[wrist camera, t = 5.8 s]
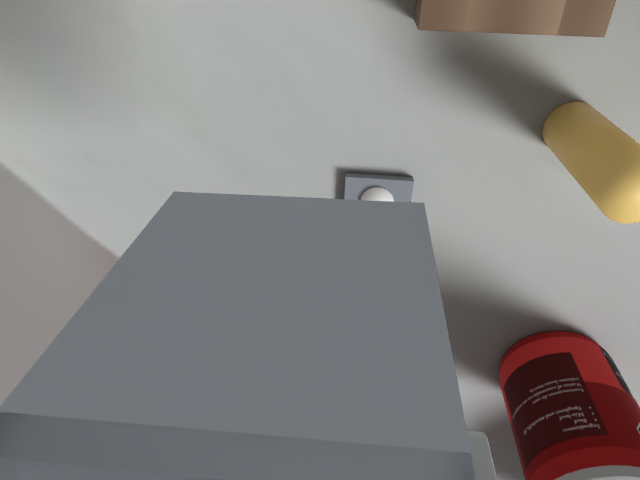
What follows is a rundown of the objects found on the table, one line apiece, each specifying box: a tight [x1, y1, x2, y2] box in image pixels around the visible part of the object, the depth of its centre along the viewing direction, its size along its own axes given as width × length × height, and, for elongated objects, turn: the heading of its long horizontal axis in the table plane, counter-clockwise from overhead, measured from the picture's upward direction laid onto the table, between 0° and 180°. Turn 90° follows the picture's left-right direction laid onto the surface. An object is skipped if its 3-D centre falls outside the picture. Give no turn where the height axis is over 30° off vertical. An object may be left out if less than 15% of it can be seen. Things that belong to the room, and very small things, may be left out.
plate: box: [344, 173, 414, 202], centre depth 29 cm, size 4×7×4 cm, turn 179°
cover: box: [0, 192, 476, 480], centre depth 10 cm, size 6×9×8 cm, turn 0°
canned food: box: [499, 331, 640, 480], centre depth 30 cm, size 8×8×11 cm
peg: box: [542, 102, 640, 223], centre depth 22 cm, size 3×3×8 cm
